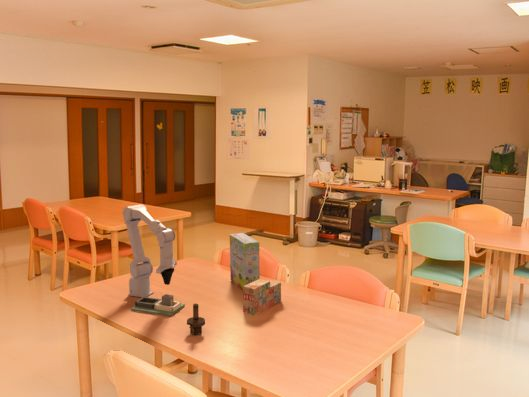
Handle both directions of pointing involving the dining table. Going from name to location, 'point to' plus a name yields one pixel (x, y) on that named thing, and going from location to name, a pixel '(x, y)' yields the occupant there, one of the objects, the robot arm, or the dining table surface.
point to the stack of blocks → (260, 295)
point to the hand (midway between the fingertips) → (167, 284)
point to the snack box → (244, 259)
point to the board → (156, 306)
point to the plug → (167, 300)
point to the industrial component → (195, 322)
